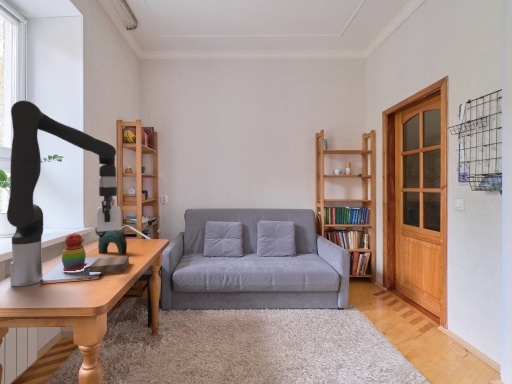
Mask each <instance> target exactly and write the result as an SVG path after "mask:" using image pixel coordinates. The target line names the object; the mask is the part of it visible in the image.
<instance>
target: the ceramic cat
mask: <svg viewBox="0 0 512 384" xmlns="http://www.w3.org/2000/svg"><path fill="white" fill-rule="evenodd" d="M94 229H95V236H98V254H101V255H102V254H107V253H108V252H109V250H108V247H109V245H110V243H112V244H114V245H116V247H117V251H118V255H119V256H125V255H127V250H128V247H127V246H128V243H127V237H126V234H125V232H124V231H123V230H122V229H121V230H113V231H101V232H97V226H96V227H95V228H94Z"/></svg>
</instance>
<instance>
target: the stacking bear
mask: <svg viewBox="0 0 512 384" xmlns="http://www.w3.org/2000/svg"><path fill="white" fill-rule="evenodd" d="M64 241H65V244H66V246H65V247H64V249H63V250H62V254H61V263H62V266H63V269H62V271H63V270H64V271H76V270H81V269H83V268H84V266H86V265H87V264H89V263H88V262H86V257H87V256H86V255H87V254H86V251H85V247H84V245H83V243H84V241H85V238H84V237H83V236H81V235H80V234H79V233H76V232H74V233H70V234H68V235H67V236H66V237H65V239H64Z"/></svg>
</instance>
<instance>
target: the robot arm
mask: <svg viewBox="0 0 512 384" xmlns="http://www.w3.org/2000/svg"><path fill="white" fill-rule="evenodd" d="M10 116H11V121H12V122H11V123H12V142H11V143H12V144H11V152H10V182H9V183H10V188H9V189H10V191H9V200H8V205H7V212H6V219H7V221H8V222H9V224H10V225H11V226H12V227H15V228H16V229H15V232H14V234H13V236H12V237H11V250H12V251H11V252H12V257H11V258H12V261H11V262H10V263H9V278H10V279H9V280H10V287H26V286H27V287H28V286H31V285H35V284H37V283H40V282H41V281H40V280H41V279H42V278H43V277H44V275H43V274H44V273H43V251H42V248H43V247H42V245H43V244H42V237H43V234H44V212H43V210H42V208H41V207H40V206H39V205H38V204H35V203H34V193H35V188H36V186H37V185H38V181H39V179H40V175H41V170H42V168H41V165H42V160H41V159H42V158H41V151H40V145H39V141H38V132H39V131H43V132H45V133H48V134H50V135H53V136H55V137H57V138H59V139H60V140H63V141H65V142H67V143H69V144H72V145H73V146H75V147H78V148H80V149H82V150H85V151H87V152H90V153H91V152H92V153H93V154H95V155H97V156H98V162H99V169H98V172H99V174H98V177H99V178H98V195H99V197H103V199H102V200H101V206H102V211H103V213H104V217H105V222H110V210H111V209H112V205H115V199H114V198H113V197H117V196H118V180H117V168H116V163H115V162H116V155H117V150H116V148H115V146H113V145H112V144H110V143H108V142H105V141H103V140H100V139H98V138H95V137H93V136H91V135H89V134H88V133H86V132H84V131H82V130H79V129H77V128H74V127H71V126H70V125H66V124H63V123H62V122H59V121H57V120H55V119H53V118H51V117H49V116H48V115H46V114H45V113H44V112H42V111H41V110H40V108H39V107H38V106H37V104H35V103H33V102H31V101H28V100H18V101H16V102H14V103H13V104H12V106H11V108H10ZM106 210H107V211H106ZM43 279H44V278H43Z"/></svg>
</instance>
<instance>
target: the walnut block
mask: <svg viewBox="0 0 512 384" xmlns="http://www.w3.org/2000/svg"><path fill="white" fill-rule="evenodd" d="M129 257H130V255H120V256H112V257H101V258H99V257H98V258H97V259H96V260H95V261H94V262H93V263H91V264H90V266H89V268H88V273H89V272H101V275H109V274H118V273H119V274H121V273H125V270H126V269H127V268H128V265H129V264H130V258H129Z"/></svg>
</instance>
